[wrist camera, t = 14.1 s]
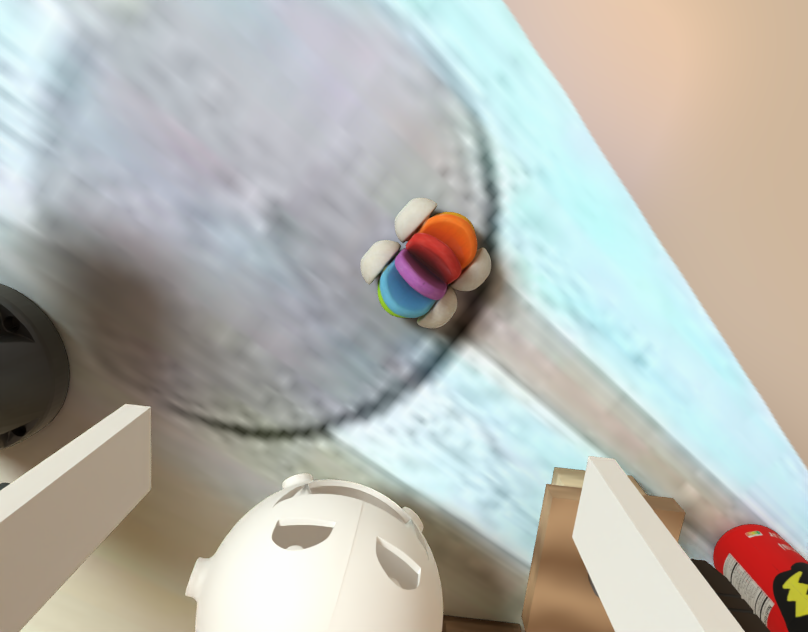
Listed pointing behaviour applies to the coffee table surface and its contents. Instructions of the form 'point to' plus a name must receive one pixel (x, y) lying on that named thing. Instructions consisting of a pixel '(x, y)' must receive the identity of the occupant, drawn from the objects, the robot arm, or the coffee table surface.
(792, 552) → the beverage can
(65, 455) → the robot arm
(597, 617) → the lid
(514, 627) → the box
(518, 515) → the coffee table surface
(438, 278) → the rainbow disc baby toy
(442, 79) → the coffee table surface
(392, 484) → the coffee table surface
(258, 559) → the decorative ball
